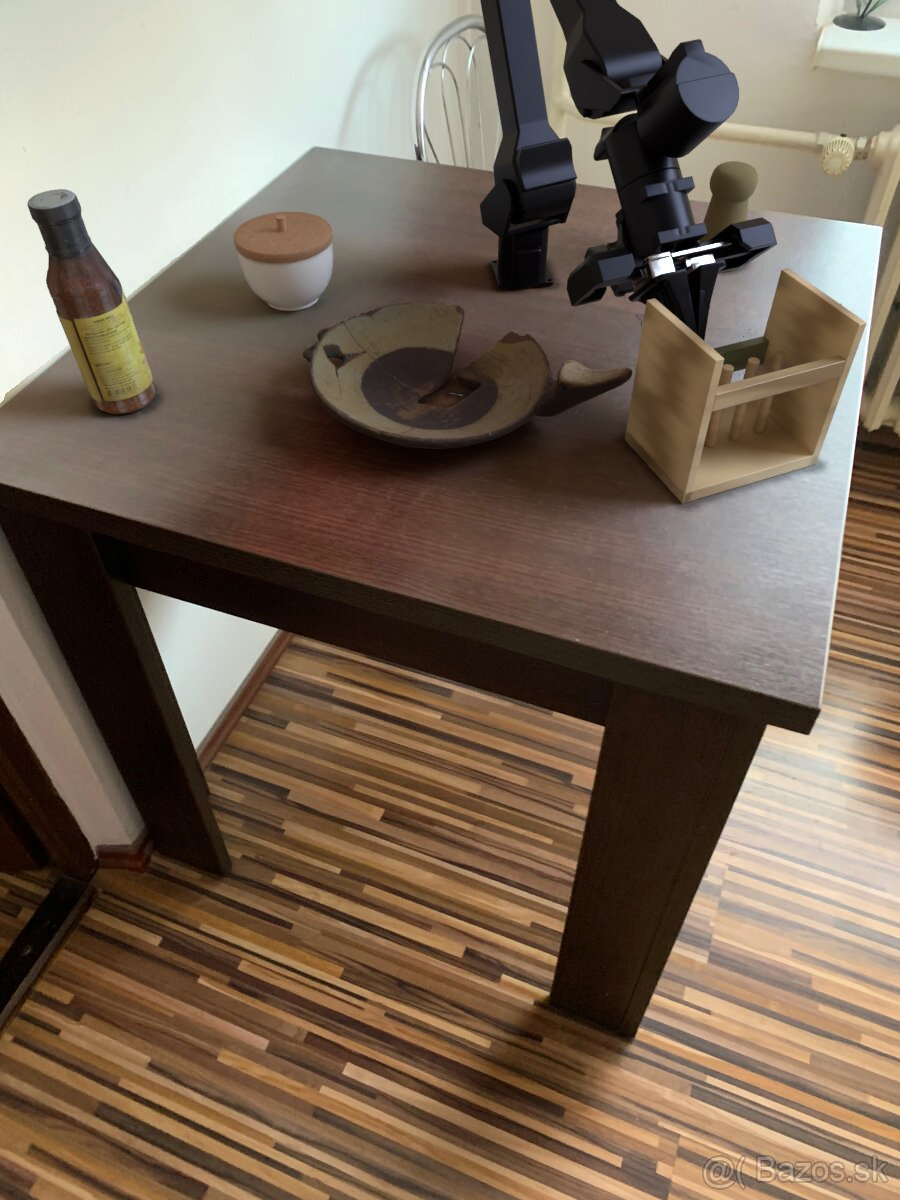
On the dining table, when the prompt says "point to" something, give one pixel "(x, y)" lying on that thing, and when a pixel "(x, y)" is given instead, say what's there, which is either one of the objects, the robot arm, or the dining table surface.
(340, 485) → the dining table surface
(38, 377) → the dining table surface
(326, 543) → the dining table surface
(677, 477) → the rack
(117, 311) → the sauce bottle
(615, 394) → the dining table surface
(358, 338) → the broken clay pan
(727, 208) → the olive pawn
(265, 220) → the trinket box
